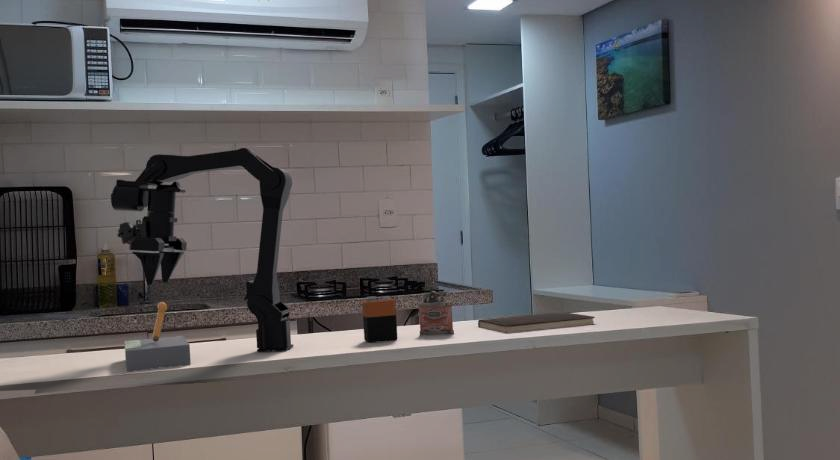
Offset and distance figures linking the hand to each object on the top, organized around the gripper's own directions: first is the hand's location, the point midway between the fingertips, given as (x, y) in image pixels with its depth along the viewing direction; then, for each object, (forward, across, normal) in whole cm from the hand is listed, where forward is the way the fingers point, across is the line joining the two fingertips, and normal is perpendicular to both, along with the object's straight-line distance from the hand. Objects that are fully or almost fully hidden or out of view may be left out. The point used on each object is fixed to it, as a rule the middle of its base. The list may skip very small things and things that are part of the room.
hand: (157, 283), depth 176 cm
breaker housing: (+16, +9, +4) cm, 19 cm away
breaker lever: (+11, +10, +4) cm, 15 cm away
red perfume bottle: (+10, -13, +62) cm, 64 cm away
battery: (+11, -6, +49) cm, 51 cm away
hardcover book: (+8, -20, +85) cm, 88 cm away
